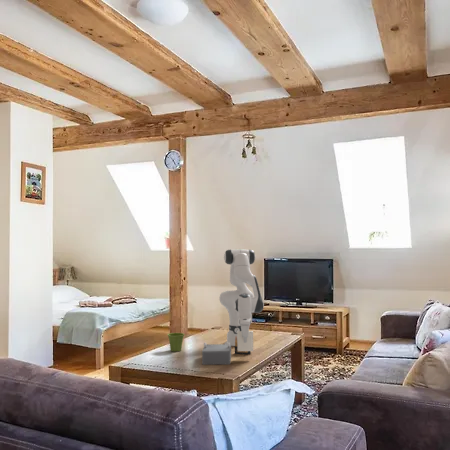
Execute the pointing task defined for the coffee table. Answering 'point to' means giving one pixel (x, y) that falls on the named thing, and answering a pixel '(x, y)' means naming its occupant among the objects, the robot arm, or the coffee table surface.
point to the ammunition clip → (240, 351)
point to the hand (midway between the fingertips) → (245, 341)
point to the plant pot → (175, 341)
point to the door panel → (249, 344)
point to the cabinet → (216, 354)
